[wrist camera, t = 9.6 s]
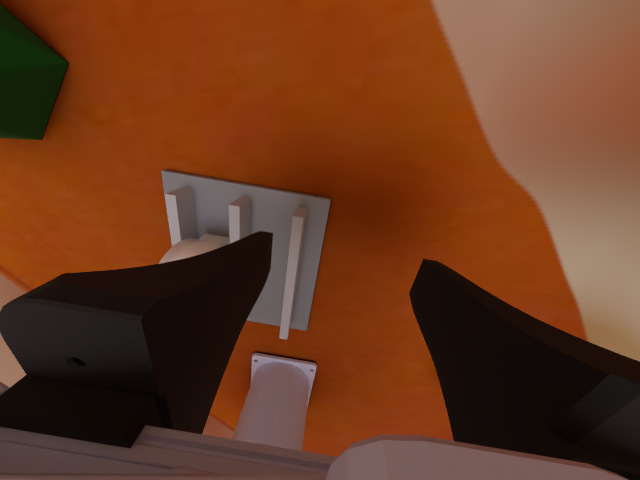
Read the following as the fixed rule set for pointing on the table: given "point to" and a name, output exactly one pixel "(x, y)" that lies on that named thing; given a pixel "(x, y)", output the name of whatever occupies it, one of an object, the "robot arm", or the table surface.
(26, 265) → the table surface
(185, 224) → the dish rack
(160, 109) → the table surface
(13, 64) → the milk carton
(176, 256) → the cream round puck
